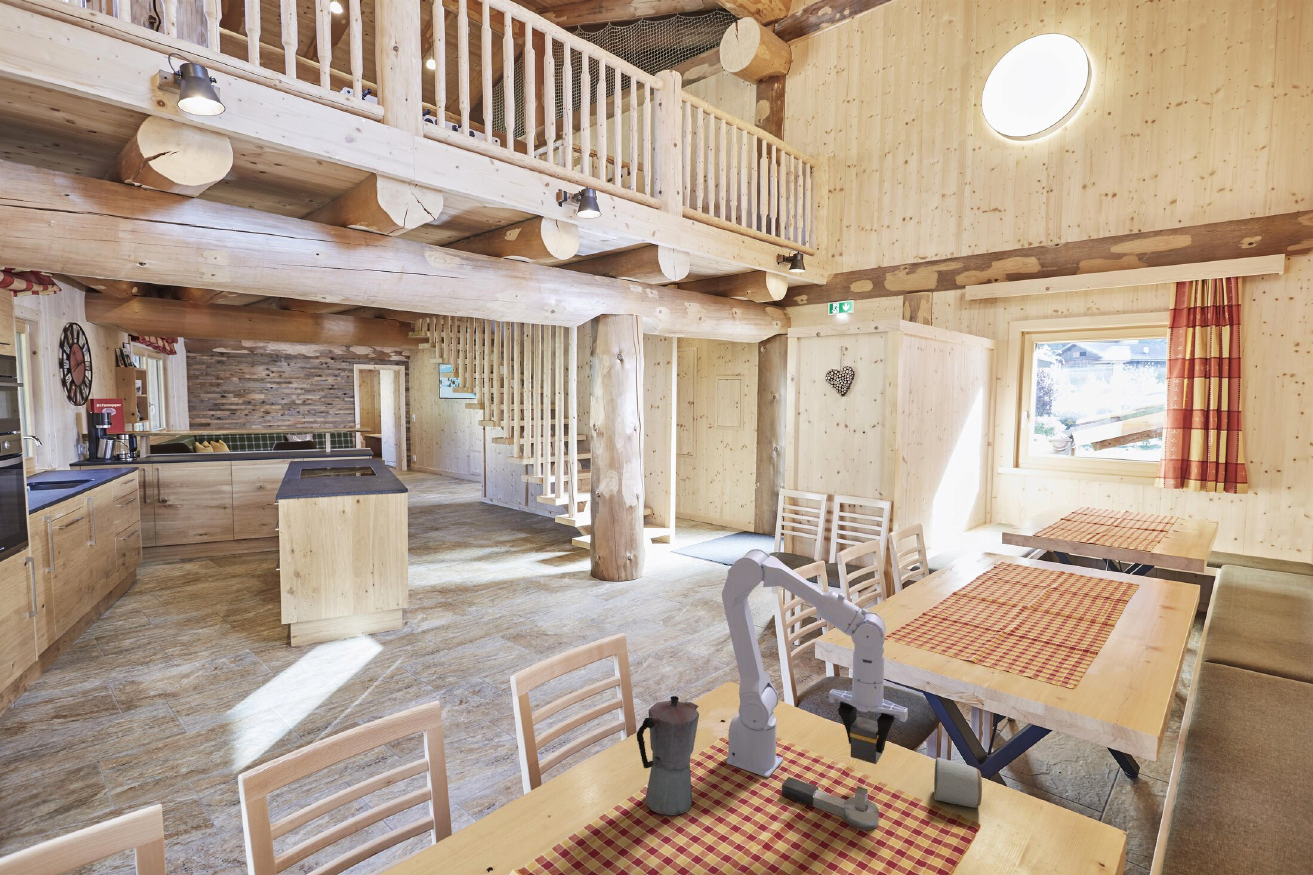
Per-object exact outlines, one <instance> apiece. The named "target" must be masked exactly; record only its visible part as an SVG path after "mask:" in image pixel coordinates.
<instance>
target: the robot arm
mask: <svg viewBox="0 0 1313 875" xmlns="http://www.w3.org/2000/svg"><path fill="white" fill-rule="evenodd" d="M761 582H763V583H762V584H763V585H762V587H763V588H771V587H773V588H774V587H781V588H782V589H784V590H786V591H787V592H789V593H791V594H792V595H794V596H797V597H798V598H800V599H802V600H803V601H804V602H806V603H808V604H810V605H811V606H813V607H814V608H815V609H816V612H817V615H818V617H819V618H821V619H822V620H824V621H825V622H827V623H828V624H830V625H832V626H833V627H834V628H836V629H838V630H839V631H841V632H842V633H843V634H845V635H847V636H849V637H851V640H852V642H853V644H854V647H853V648H854V649H853V653H852V683H851V684H852V686H851V687H852V689H851V690H852V691H847V690H839V689H834V688H832V689H831V690H830V691H829V692H828V695H829V696H828V702H829V703H832V704H833V703H838V704H839V707H838V709H837V711H838V715H839V716H840V718H841V721H842V722H843V725H844V728H845V731H846V733H847V739H848V745H851V737H850V732H851V725H852V724H853V723H854V721H855V720H856V719H857V712H858V711H859V712H863V713H868V712H872V713H876V714H878V715H879V714H880V716H879V717H878V718H877V719H876V720H877V724H878V753H882V752H884V751H885V747H886V742H887V738H888V734H889V733H890V731H891V728H892V726H893V724H894V722H895V720H896V719H898V720H899V722H903V723H906V722H907V719H908V718H909V717H908V714H909V712H908V711H909V709H908V708H907V707H906V706H905V707H904V706H901V705H898V704H896V703H894V702H892V701H889V700H887V699H884V685H885V683H884V680H885V655H884V652H885V651H884V650H885V648H884V643H885V636H886V624H885V621H884V619H883V618H882V617H881V616H879V615H878V614H877V612H874V611H868V610H867V609H866V608H865V607H863V608H860V607H859V606H858V605H856V604H855V603H853V602H851V601H849V600H847V598H846V596H847V595H846V594H844V593H842V592H839V593H837V592H835V591H827V592H825V591H823V590H821V589H820V588H819V587H817V586H815V585H814V584H813V583H811V582H810V581H808V580H807V579H806V578H805V577H803V576H801V575H800V574H798V573H797V572H796V571H795V570H794V569H791V568H790V567H788V566H787V565H786V564H785V563H783V562H782V561H781V560H780V559H779V558H777V557H776V556H773V555H770V554H769V553H767V552H766V551H765V550H763V549H761V548H753V549H751V550H749V551H747V552H746V553H745V554H744V555H743V556H742V557H741V558H739V559H737V560H736V561H734V563H733V564H732V565H731V566H730V568H729V569H727V576H726V579H725V582H724V586H723V589H722V592H721V599H722V600H721V601H722V604H723V609H724V613H725V617H726V621H727V626H728V630H729V634H730V638H731V642H732V648H733V652H734V656H735V660H736V666H737V668H738V674H739V678H740V680H739V692H738V697H739V706H738V714H737V713H736V714H735V715H734V716H733V717H732V719H731V721H730V723H729V727H728V740H727V741H728V749H727V751H728V752H727V753H728V754H727V759H726V764H729V765H730V766H734V767H736V768H739V769H742V770H745V771H748V772H749V773H750V772H751V773H753V774H757V775H759V776H761V777H764V778H769V777H770V776H771V775H772V774H773V773H774V771H775V770H777V768H778V767H779V766H780V765H781V764H782V763H783V761H784V758H783V757H782V756H778V755H777V719H776V716H775V713H774V710H775V708H776V707H777V706H778V704H779V698H780V697H779V693H778V691H777V689H776V688H775V686H774V685H773V684H772V681H771V678H770V675H769V674H768V673H767V672H766V671H765V667H764V664H763V659H762V654H761V650H760V646H759V642H758V637H757V633H756V629H755V625H754V624H755V623H754V620H753V616H752V615H753V614H752V612H751V608H750V607H751V606H750V602H749V599H748V598H749V596H750V595H751V593H752V592H753V591H754V589H755V588H756V587H758V586H759V585H760V584H761ZM882 754H883V753H882Z"/></svg>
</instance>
